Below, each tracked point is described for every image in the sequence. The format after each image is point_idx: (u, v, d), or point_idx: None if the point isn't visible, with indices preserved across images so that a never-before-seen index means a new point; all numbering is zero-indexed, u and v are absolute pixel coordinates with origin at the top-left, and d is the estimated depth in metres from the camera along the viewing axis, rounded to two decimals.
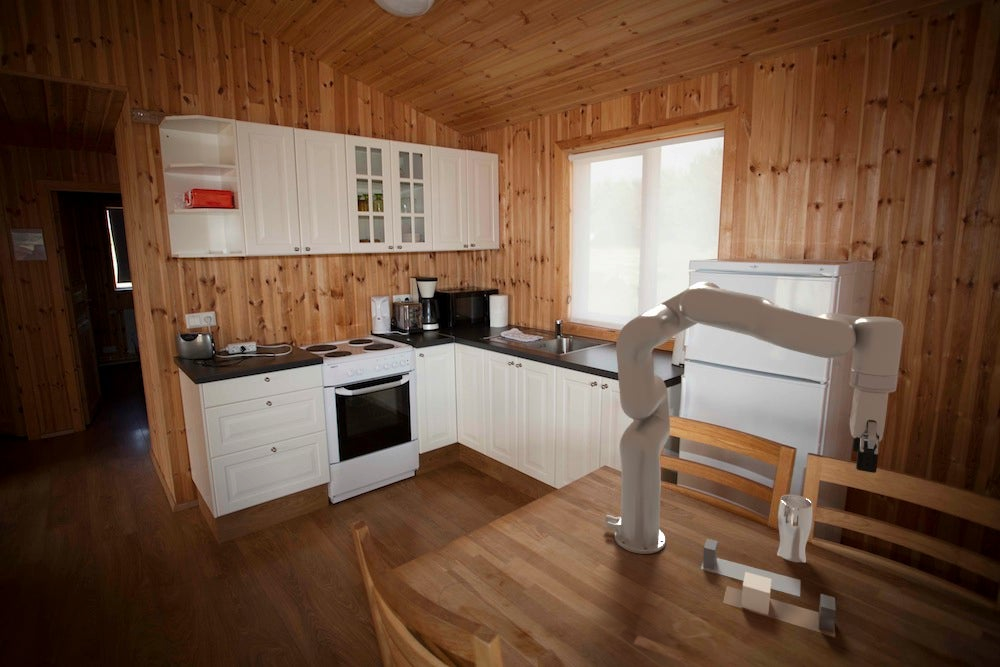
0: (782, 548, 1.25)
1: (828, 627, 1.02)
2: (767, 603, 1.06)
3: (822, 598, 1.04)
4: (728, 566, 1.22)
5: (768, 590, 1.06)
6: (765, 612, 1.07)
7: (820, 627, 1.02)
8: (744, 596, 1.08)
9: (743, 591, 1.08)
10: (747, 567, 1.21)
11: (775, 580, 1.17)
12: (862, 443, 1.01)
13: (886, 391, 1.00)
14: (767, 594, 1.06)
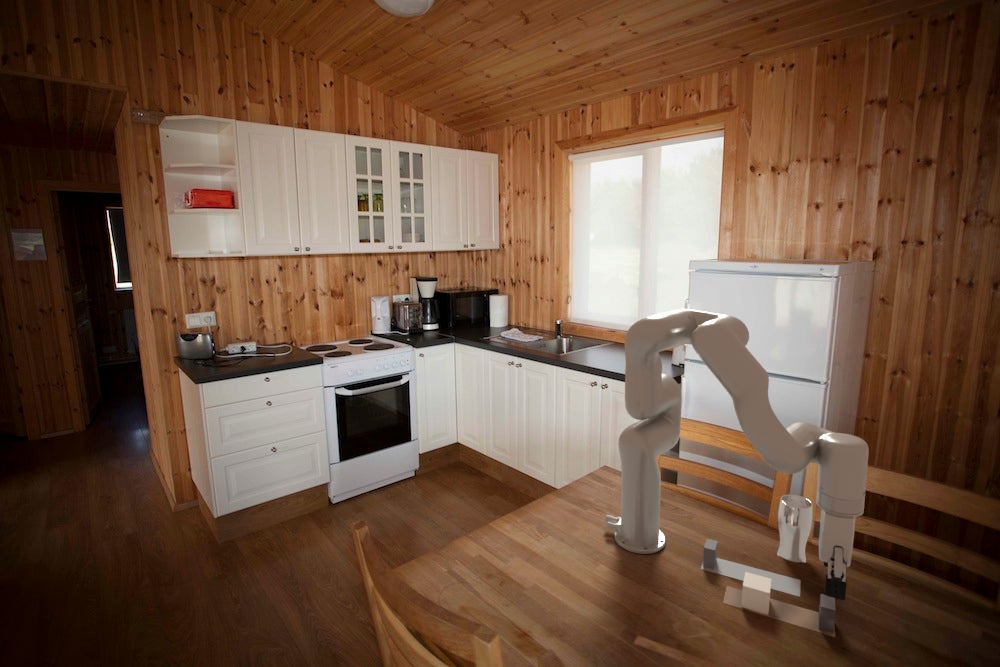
0: (782, 548, 1.25)
1: (828, 627, 1.02)
2: (767, 603, 1.06)
3: (822, 598, 1.04)
4: (728, 566, 1.22)
5: (768, 590, 1.06)
6: (765, 612, 1.07)
7: (820, 627, 1.02)
8: (744, 596, 1.08)
9: (743, 591, 1.08)
10: (747, 567, 1.21)
11: (775, 580, 1.17)
12: (829, 569, 0.96)
13: (852, 516, 0.95)
14: (767, 594, 1.06)
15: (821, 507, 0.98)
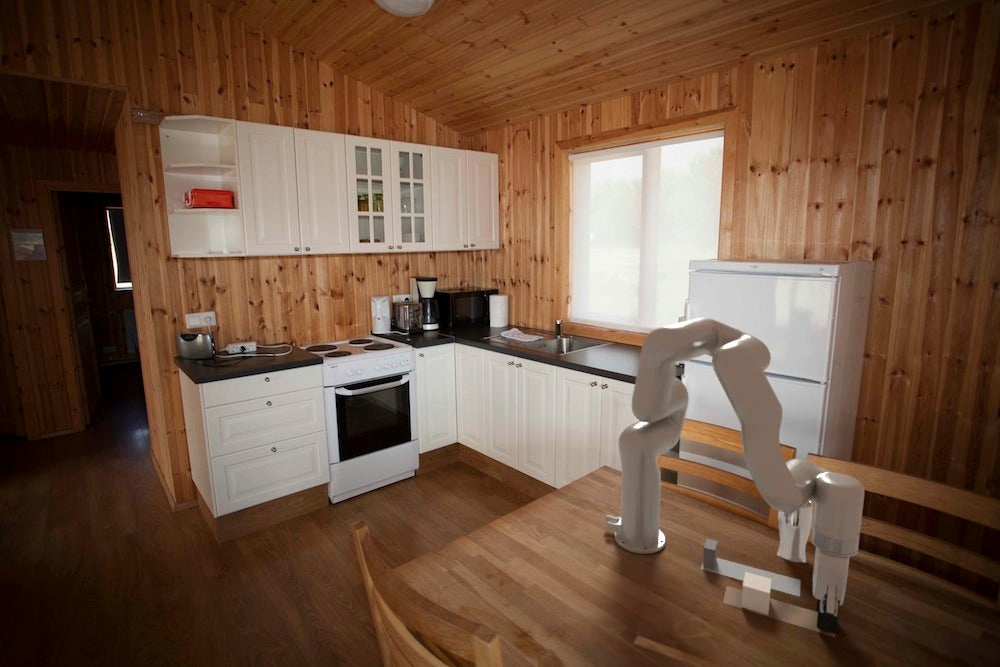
0: (782, 548, 1.25)
1: None
2: (767, 603, 1.06)
3: None
4: (728, 566, 1.22)
5: (768, 590, 1.06)
6: (765, 612, 1.07)
7: None
8: (744, 596, 1.08)
9: (743, 591, 1.08)
10: (747, 567, 1.21)
11: (775, 580, 1.17)
12: (822, 606, 1.00)
13: (847, 555, 0.97)
14: (767, 594, 1.06)
15: (816, 545, 1.00)
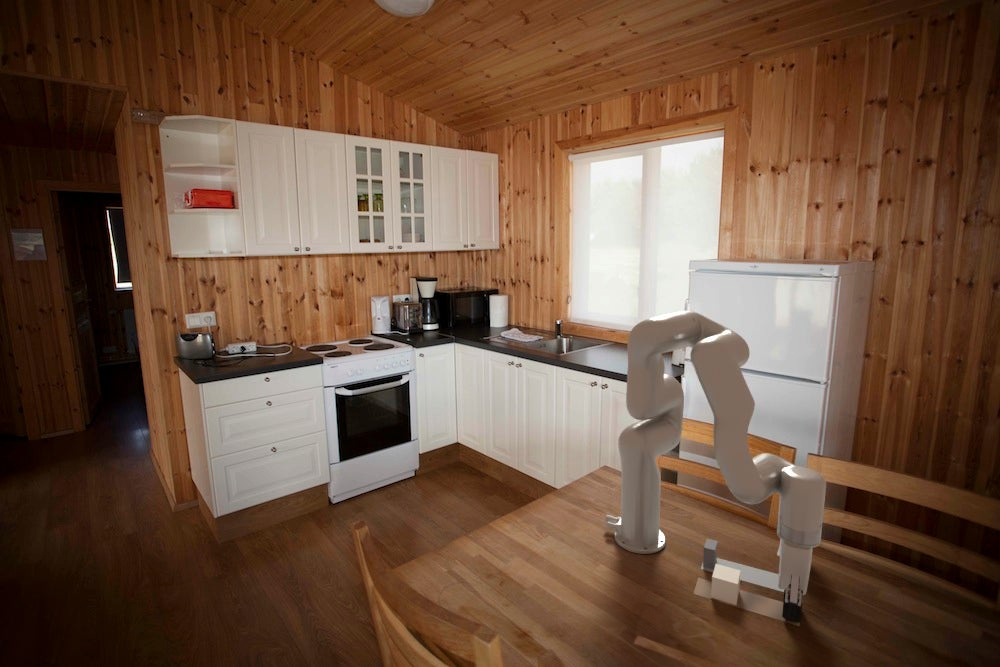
0: None
1: None
2: (735, 594, 1.09)
3: None
4: (728, 566, 1.22)
5: (736, 581, 1.09)
6: (733, 602, 1.10)
7: None
8: (713, 587, 1.11)
9: (712, 582, 1.11)
10: (747, 567, 1.21)
11: (775, 580, 1.17)
12: (787, 596, 1.03)
13: (809, 546, 1.00)
14: (735, 585, 1.09)
15: (781, 537, 1.03)
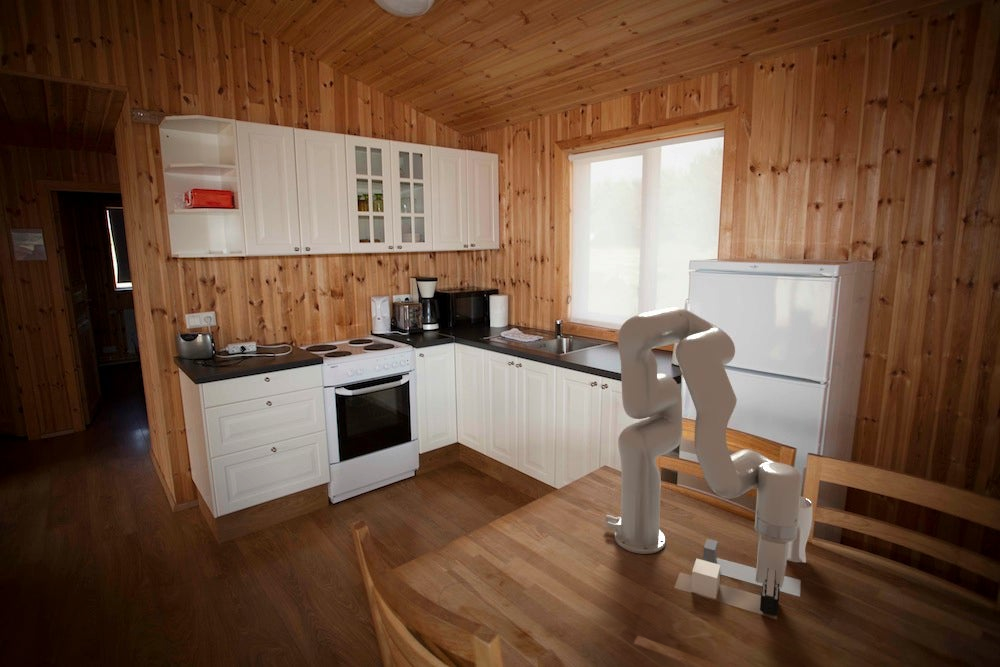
0: None
1: None
2: (714, 588, 1.11)
3: None
4: (728, 566, 1.22)
5: (716, 575, 1.11)
6: (713, 596, 1.12)
7: None
8: (693, 581, 1.13)
9: (692, 576, 1.13)
10: (747, 567, 1.21)
11: None
12: (764, 589, 1.05)
13: (785, 541, 1.02)
14: (714, 579, 1.11)
15: (758, 531, 1.05)
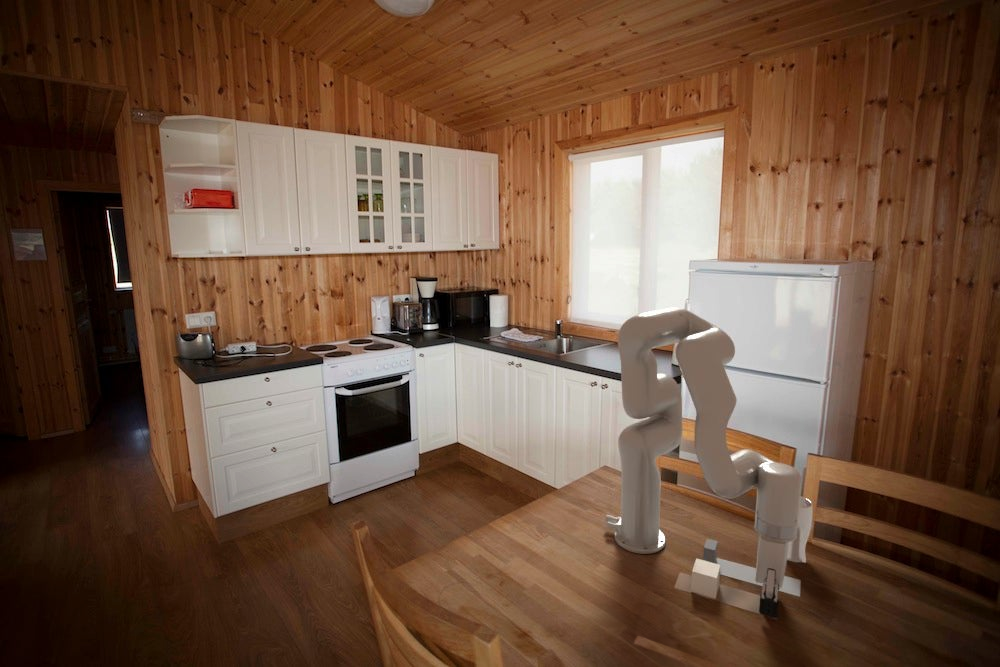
0: None
1: None
2: (714, 588, 1.11)
3: None
4: (728, 566, 1.22)
5: (715, 575, 1.11)
6: (713, 596, 1.12)
7: None
8: (693, 581, 1.13)
9: (692, 576, 1.13)
10: (747, 567, 1.21)
11: None
12: (763, 590, 1.03)
13: (785, 541, 1.02)
14: (714, 579, 1.11)
15: (758, 531, 1.05)
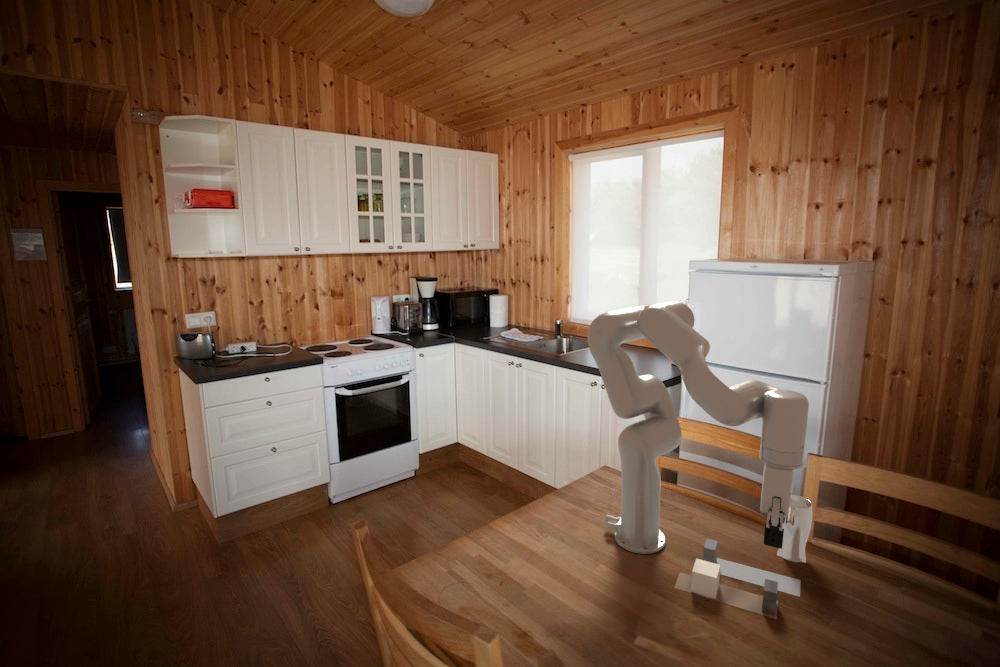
0: (782, 548, 1.25)
1: (770, 610, 1.07)
2: (714, 588, 1.11)
3: (766, 582, 1.09)
4: (728, 566, 1.22)
5: (715, 575, 1.11)
6: (713, 596, 1.12)
7: (763, 610, 1.07)
8: (693, 581, 1.13)
9: (692, 576, 1.13)
10: (747, 567, 1.21)
11: (775, 580, 1.17)
12: (768, 519, 1.00)
13: (791, 468, 0.99)
14: (714, 579, 1.11)
15: (763, 460, 1.02)
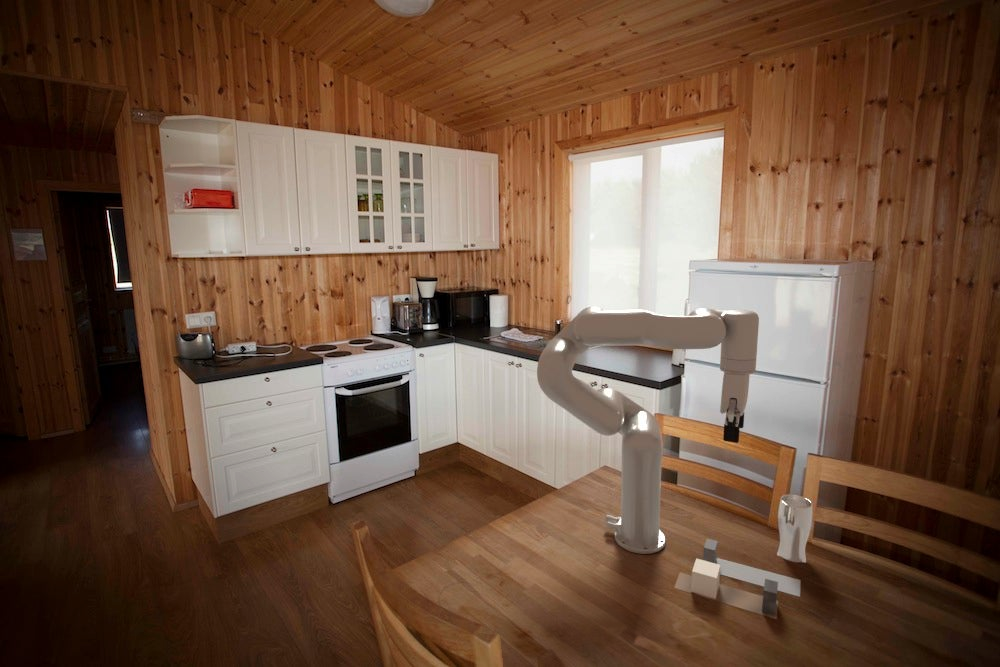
0: (782, 548, 1.25)
1: (770, 610, 1.07)
2: (714, 588, 1.11)
3: (766, 582, 1.09)
4: (728, 566, 1.22)
5: (715, 575, 1.11)
6: (713, 596, 1.12)
7: (763, 610, 1.07)
8: (693, 581, 1.13)
9: (692, 576, 1.13)
10: (747, 567, 1.21)
11: (775, 580, 1.17)
12: None
13: (745, 373, 1.17)
14: (714, 579, 1.11)
15: (722, 369, 1.20)
